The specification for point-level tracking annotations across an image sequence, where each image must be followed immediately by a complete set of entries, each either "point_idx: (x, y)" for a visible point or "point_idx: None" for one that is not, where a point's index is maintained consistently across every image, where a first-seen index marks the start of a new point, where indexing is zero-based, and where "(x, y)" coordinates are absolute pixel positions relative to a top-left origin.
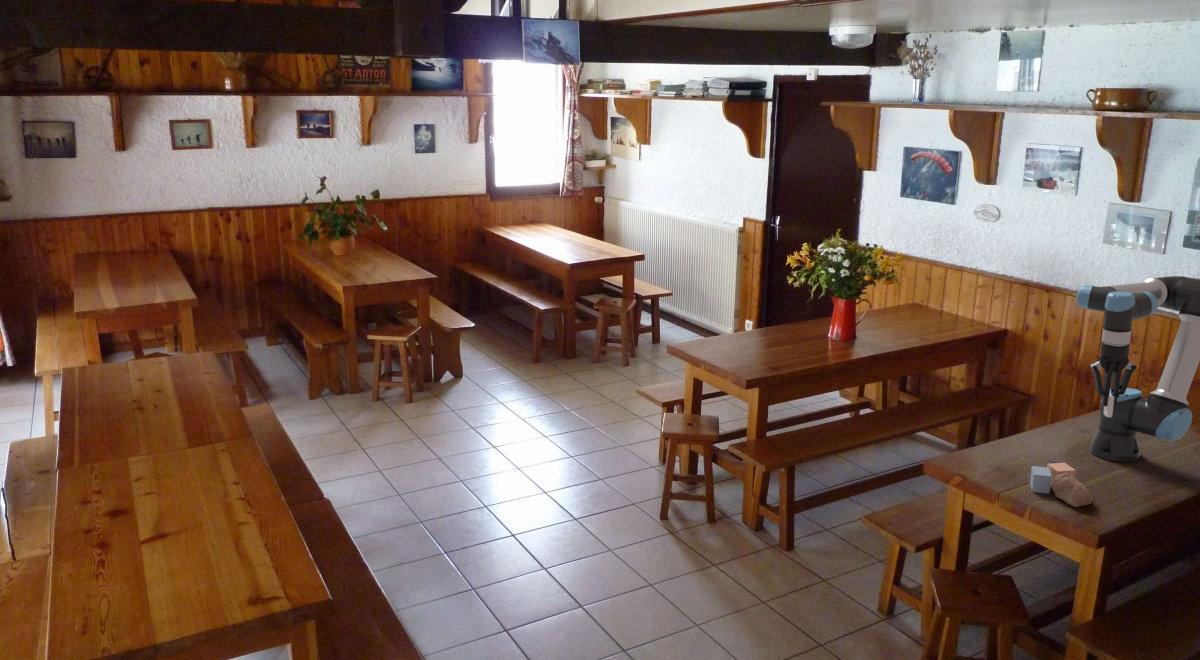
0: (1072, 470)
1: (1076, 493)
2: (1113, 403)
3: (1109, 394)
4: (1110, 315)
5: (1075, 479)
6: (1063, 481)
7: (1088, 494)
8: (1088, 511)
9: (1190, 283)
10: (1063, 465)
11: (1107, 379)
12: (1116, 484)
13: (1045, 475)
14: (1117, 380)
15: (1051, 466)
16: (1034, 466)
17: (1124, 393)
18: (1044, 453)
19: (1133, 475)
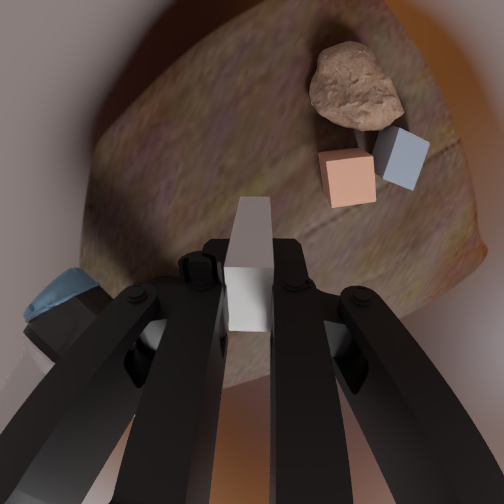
0: (334, 160)
1: (367, 48)
2: (231, 236)
3: (239, 329)
4: None
5: (354, 97)
6: (392, 83)
7: (338, 45)
8: (334, 35)
9: None
10: (342, 191)
11: (341, 467)
12: (215, 171)
13: (409, 133)
14: (163, 444)
15: (373, 185)
16: (409, 187)
17: (122, 291)
18: None
19: (167, 220)
